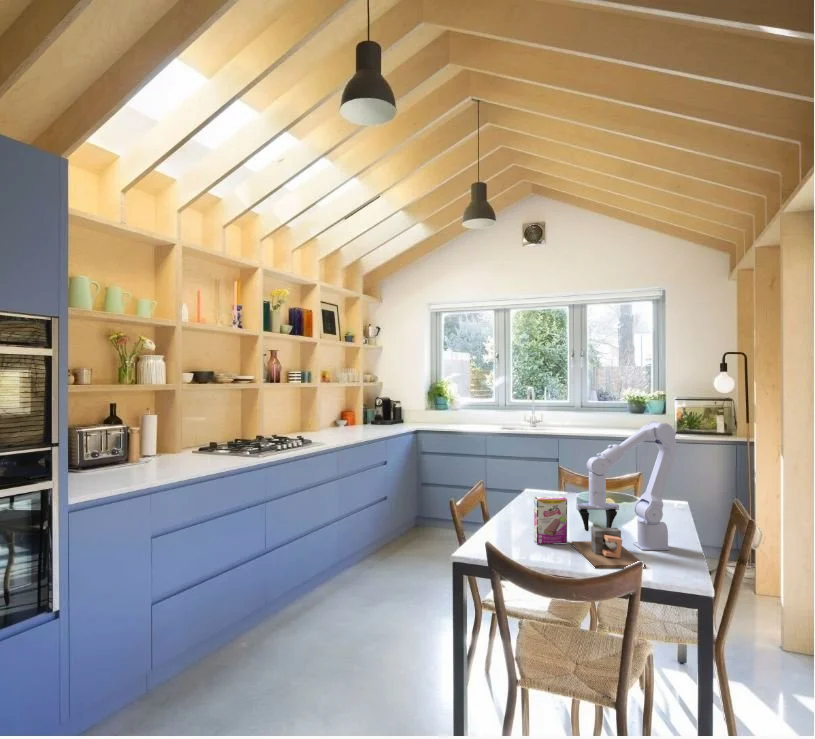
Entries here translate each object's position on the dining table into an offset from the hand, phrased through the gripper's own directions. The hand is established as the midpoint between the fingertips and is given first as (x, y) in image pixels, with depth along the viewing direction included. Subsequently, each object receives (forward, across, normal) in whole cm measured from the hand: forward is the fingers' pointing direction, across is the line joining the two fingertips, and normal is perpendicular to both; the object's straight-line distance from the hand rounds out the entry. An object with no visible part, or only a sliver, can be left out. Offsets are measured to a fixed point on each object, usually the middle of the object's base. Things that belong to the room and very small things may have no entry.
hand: (597, 530), depth 202 cm
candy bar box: (+6, -15, +6) cm, 17 cm away
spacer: (+1, -2, -13) cm, 13 cm away
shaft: (+3, 0, -7) cm, 8 cm away
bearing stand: (+6, 0, -8) cm, 10 cm away
